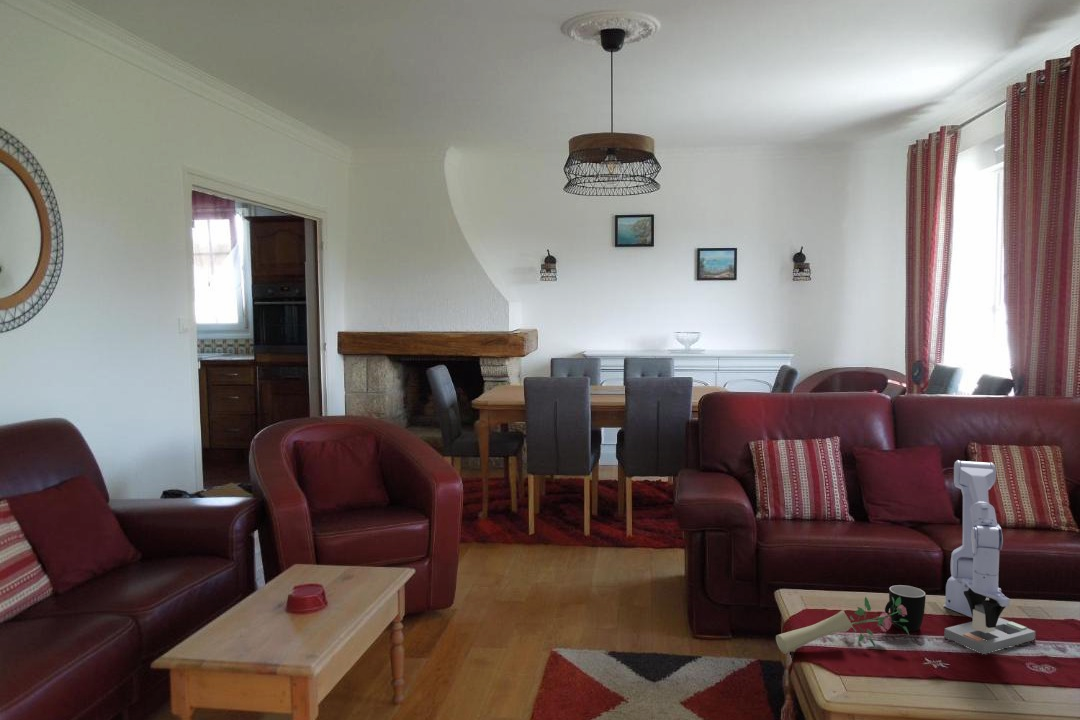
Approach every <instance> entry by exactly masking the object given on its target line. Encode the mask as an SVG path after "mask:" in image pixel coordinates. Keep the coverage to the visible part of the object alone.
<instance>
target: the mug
mask: <svg viewBox="0 0 1080 720" xmlns="http://www.w3.org/2000/svg"><path fill="white" fill-rule="evenodd" d="M888 591H889V592H888V602H887V603H886V604H885V608H884V613H885V612H886V613H887V614H888V615H890V614H893V611H894V613H895V612H897V609H896V608H898V607H899V606H896V605H895V604H894V606H893V600H892V597H893V599H894V603H895V601H896V600H897V598H899V597H900V598H901V604H900V605H903V606H904V607H905V608H906V612H907V615H905V614H903V615H905V616H902V615H901V614H899V613H895V614H893V615H890V619H891V624H892V625H893V627H894V628H896V629H898V630H899V631H900V630H901V631H903V630H904V628H903V627H904V626H905V627H906V628H907V630H908V632H910V631H913V632H918V631H919V630H920V629H921V627H922V623H923V620H924V616H925V608H926V592H925V591H924V590H922V589H921V588H918V587H916V586H915V587H914V586H911V585H902V584H898V585H892V586H890V587H889V589H888ZM894 608H895V609H894ZM898 614H899V615H898ZM900 619H905V620H907V621H909V622H901V621H900ZM892 620H893V621H892ZM894 621H896V622H894ZM899 621H900V622H899ZM898 624H899V625H898ZM904 632H906V631H905V630H904Z"/></svg>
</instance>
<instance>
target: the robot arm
mask: <svg viewBox="0 0 1080 720" xmlns="http://www.w3.org/2000/svg"><path fill="white" fill-rule="evenodd" d="M996 478H997V469H996V465H995V464H994V462H991V461H990V462H983V461H969V460H967V461H966V460H959V459H957V460H956V461H954V464H953V484H954V487H955V488H957V489H959V490H961V494H962V545H960V546H958V547H957V548H955V549H954V550H953V551H952V552H951V556H950V557H951V558H950V575H951V576H950V577H949V578H948V579H947V582H946V584H945V604H943V607H944V608H946V609H949V610H952V611H954V612H957V613H959V614H962V615H964V616H966V617H969V618H972V619H973V609H975V605H979V604H983V607H984V610H985V620H986V627H988V628H994V627H996V624H997V621H998V618H999V617H1000V616H1001V614H1002V613H1003V611H1004V609H1006V607H1010V603H1011V600H1010V598H1009V597H1007V596H1005V594H1004V593H1003V592H1002V588H1001V587H999V577H1000V576H999V571H1000V569H999V568H1000V550H1002V548H1003V543H1004V538H1003V536H1004V535H1003V531H1002V530H1003V529H1002V527H1001V526H1000V524H999V523H998V520H997V514H996V509H995V507H994V506H993V505H992V504H990V502H989V490H991V488H992V487H993V486H994V484H995V483H996V480H997V479H996Z"/></svg>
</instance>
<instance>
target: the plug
mask: <svg viewBox="0 0 1080 720" xmlns="http://www.w3.org/2000/svg"><path fill="white" fill-rule="evenodd" d="M971 622H972V628H975V629H977V630H979V631H981V632H984V633H988V632H992V631H995V627H994V628H988V627H986V620H985V610H984V607H983V604H979V605H975V609H973V618H972V621H971Z"/></svg>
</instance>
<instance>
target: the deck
mask: <svg viewBox="0 0 1080 720" xmlns="http://www.w3.org/2000/svg"><path fill="white" fill-rule="evenodd" d="M1005 632H1006V633H1005ZM1007 633H1009V634H1007ZM943 634H944V635H943V637H946V638H945V639H947V638H949V639H951V640H954V641H956V642H958V643H960V644H963V645H965V646H967V647H969V648H971V649H974V650H976V651H978V652H980V653H982V654H981V655H983V654H985V653H989V652H992V651H995V650H998V649H1002V648H1006V647H1009V646H1013V645H1017V644H1020V643H1023V642H1027V641H1031V640H1034V639H1035V640H1036V630H1033V629H1031V628H1028V627H1027V626H1026V625H1025V626H1024V625H1023V624H1019V623H1017V622H1014V621H1010V620H1007V619H1005V618H1002V617H1000V616H999V618H998V621H997V624H996V627H995V631H992V632H988V633H984V632H981V631H979V630H977V629H975V628H972V621H968V622H965V623H961V624H957V625H954V626H953V625H952V626H949V627H946V628H945V627H944V633H943ZM949 639H948V640H949ZM983 639H985V640H983ZM951 640H950V641H951ZM986 640H987V641H986ZM956 642H955V643H956ZM958 643H957V644H958ZM960 644H959V645H960ZM965 646H964V647H965ZM1017 646H1018V645H1017ZM967 647H966V648H967ZM969 648H968V649H969ZM971 649H970V650H971ZM974 650H973V651H974ZM976 651H975V652H976ZM978 652H977V653H978ZM980 653H979V654H980ZM992 653H993V652H992ZM989 654H990V653H989ZM985 655H986V654H985Z"/></svg>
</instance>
